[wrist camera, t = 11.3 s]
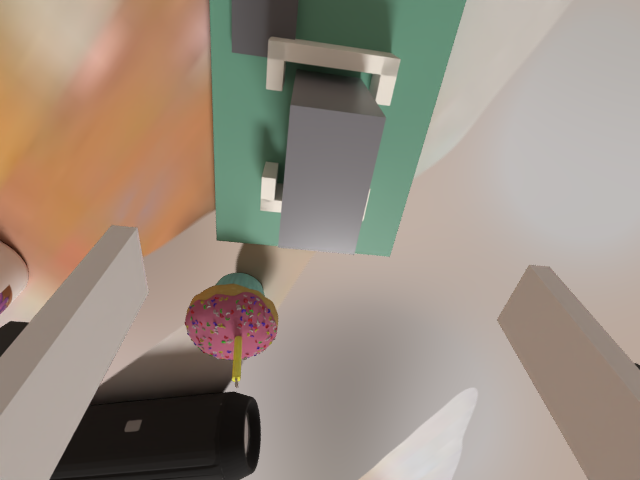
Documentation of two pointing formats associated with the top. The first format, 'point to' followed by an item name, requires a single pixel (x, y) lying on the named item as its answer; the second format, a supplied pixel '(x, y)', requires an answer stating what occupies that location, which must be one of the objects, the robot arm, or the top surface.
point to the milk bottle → (11, 276)
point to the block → (328, 162)
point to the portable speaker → (165, 440)
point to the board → (326, 57)
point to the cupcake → (232, 320)
